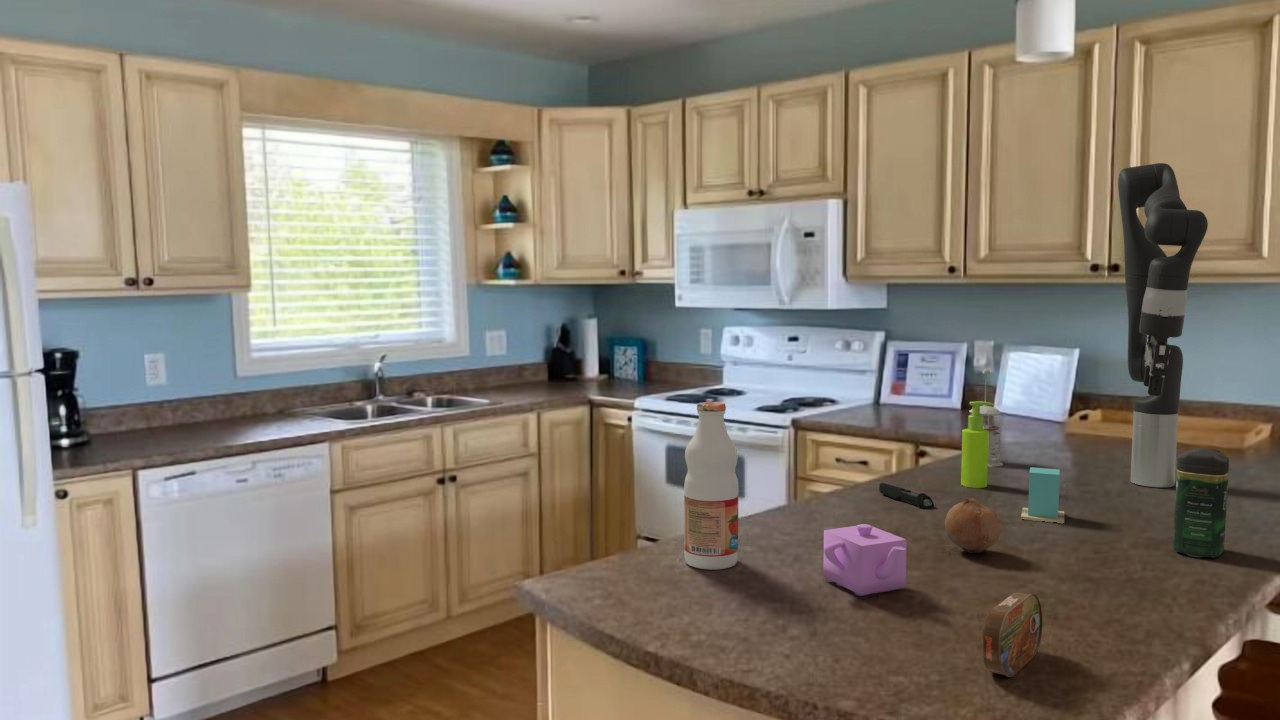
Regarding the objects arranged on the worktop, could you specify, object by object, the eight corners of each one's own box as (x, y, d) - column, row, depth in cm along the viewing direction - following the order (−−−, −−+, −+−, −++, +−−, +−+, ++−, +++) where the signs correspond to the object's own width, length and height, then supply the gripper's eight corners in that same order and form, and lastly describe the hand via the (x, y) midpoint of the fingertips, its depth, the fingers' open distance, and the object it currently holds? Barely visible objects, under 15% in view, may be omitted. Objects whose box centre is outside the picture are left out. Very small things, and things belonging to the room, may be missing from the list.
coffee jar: (1221, 562, 160) (1226, 456, 158) (1168, 554, 165) (1173, 451, 163) (1227, 549, 168) (1232, 448, 166) (1177, 541, 172) (1182, 443, 171)
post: (1022, 510, 196) (1023, 475, 195) (1064, 514, 193) (1065, 478, 192) (1020, 519, 189) (1022, 482, 188) (1064, 523, 185) (1065, 486, 185)
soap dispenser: (993, 488, 216) (996, 403, 214) (962, 487, 217) (965, 403, 216) (989, 483, 222) (992, 400, 220) (959, 482, 223) (961, 399, 221)
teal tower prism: (1028, 509, 194) (1030, 467, 193) (1058, 512, 192) (1059, 469, 191) (1027, 515, 189) (1029, 472, 188) (1057, 518, 187) (1059, 474, 186)
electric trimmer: (888, 494, 213) (888, 481, 213) (935, 508, 199) (935, 494, 199) (875, 496, 211) (875, 482, 211) (921, 510, 197) (921, 496, 197)
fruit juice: (678, 556, 165) (677, 400, 163) (728, 552, 167) (728, 399, 165) (692, 572, 156) (692, 408, 153) (745, 568, 158) (746, 406, 156)
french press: (963, 465, 243) (965, 370, 241) (965, 457, 254) (967, 366, 251) (1003, 467, 239) (1006, 371, 237) (1003, 459, 250) (1006, 367, 248)
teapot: (937, 600, 142) (938, 536, 141) (862, 614, 137) (863, 547, 136) (864, 567, 159) (865, 509, 158) (795, 578, 153) (796, 518, 152)
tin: (1001, 686, 112) (1004, 619, 112) (976, 679, 115) (978, 613, 114) (1044, 649, 124) (1046, 588, 123) (1020, 643, 126) (1022, 582, 125)
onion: (937, 545, 171) (939, 492, 170) (989, 545, 171) (990, 492, 170) (953, 560, 162) (955, 504, 161) (1008, 561, 161) (1009, 504, 160)
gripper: (1138, 305, 191) (1127, 381, 194) (1145, 314, 178) (1133, 395, 181) (1180, 308, 188) (1168, 386, 191) (1190, 317, 175) (1177, 400, 179)
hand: (1151, 390), depth 186 cm, fingers open, 8 cm apart
